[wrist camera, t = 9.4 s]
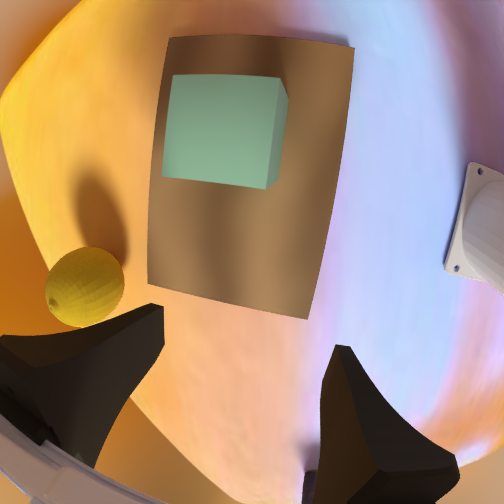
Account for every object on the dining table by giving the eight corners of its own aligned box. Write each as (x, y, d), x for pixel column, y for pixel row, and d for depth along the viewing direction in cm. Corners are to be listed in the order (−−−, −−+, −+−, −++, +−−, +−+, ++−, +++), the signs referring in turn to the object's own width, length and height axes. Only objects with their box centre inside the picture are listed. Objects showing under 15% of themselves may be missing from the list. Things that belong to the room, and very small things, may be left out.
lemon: (97, 224, 22) (26, 254, 15) (149, 255, 22) (83, 300, 15) (87, 276, 24) (27, 315, 17) (134, 307, 24) (78, 359, 17)
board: (352, 54, 15) (354, 48, 14) (308, 311, 21) (307, 319, 20) (176, 42, 16) (169, 37, 15) (155, 277, 23) (147, 283, 21)
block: (289, 99, 16) (280, 78, 11) (278, 180, 17) (265, 189, 13) (208, 93, 16) (173, 75, 12) (199, 170, 18) (161, 176, 13)
